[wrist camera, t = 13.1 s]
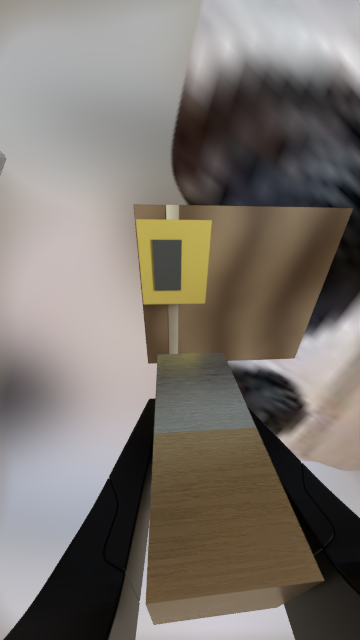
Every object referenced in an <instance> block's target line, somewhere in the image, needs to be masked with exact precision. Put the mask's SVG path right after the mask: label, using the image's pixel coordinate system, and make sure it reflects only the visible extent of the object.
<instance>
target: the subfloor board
mask: <svg viewBox="0 0 360 640" xmlns="http://www.w3.org/2000/svg"><path fill="white" fill-rule="evenodd" d="M352 210H353V208H315V207H255V206H195V205H134V214H135V225H136V219H158V220H212V225H211V237H210V250H209V262H208V274H207V286H206V299H205V303H202V304H143V311H144V322H145V333H146V344H147V355H148V363H157V359H158V355H160V354H196V353H223V354H224V356H225V358H226V361H233V360H262V359H291V358H295V355H296V353H297V350H298V348H299V345H300V343H301V340H302V338H303V335H304V332H305V330H306V327H307V325H308V322H309V320H310V317H311V315H312V312H313V309H314V307H315V304H316V302H317V299H318V297H319V294H320V292H321V289H322V286H323V284H324V281H325V279H326V276H327V274H328V271H329V269H330V266H331V263H332V261H333V258H334V256H335V253H336V251H337V248H338V246H339V243H340V240H341V238H342V235H343V233H344V230H345V228H346V225H347V223H348V220H349V217H350V215H351V212H352ZM136 235H137V228H136ZM137 246H138V239H137ZM138 257H139V250H138ZM139 268H140V261H139ZM140 279H141V272H140ZM141 289H142V283H141ZM142 300H143V294H142Z"/></svg>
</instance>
